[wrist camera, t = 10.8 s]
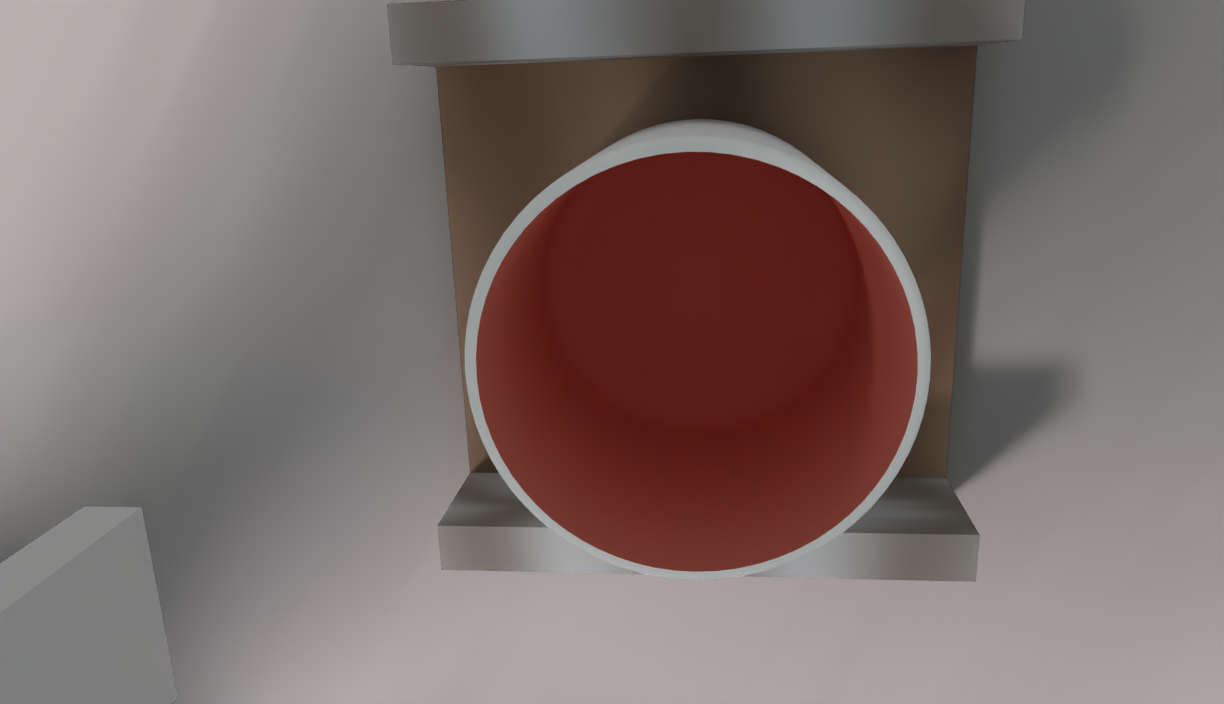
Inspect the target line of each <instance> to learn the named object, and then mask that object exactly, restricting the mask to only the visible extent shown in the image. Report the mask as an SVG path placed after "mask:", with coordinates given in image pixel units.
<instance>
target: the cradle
mask: <svg viewBox="0 0 1224 704" xmlns="http://www.w3.org/2000/svg"><path fill="white" fill-rule="evenodd" d="M387 8H388V18H389V28H390V39H391V49H392V59H393V64H397V65H415V66H434V67H436V70H437V82H438V94H439V106H440V118H441V130H442V142H443V154H444V166H445V177H446V189H447V201H448V213H449V225H450V237H451V249H452V261H453V272H454V284H455V296H456V308H457V320H458V332H459V344H460V356H461V368H462V379H463V391H464V403H465V415H466V427H467V439H468V451H469V463H470V474H469V476H468V477H467V479H466V481H465V482H464V484H463V485H462V487H461V489H460V490H459V492H458V493H457V495H456V497H455V498H454V500H453V502H452V503H451V505H450V506H449V508H448V510H447V511H446V513H445V515H444V516H443V518H442V519H441V521H440V523H439V524H438V535H439V546H440V556H441V567H442V570H485V571H529V572H574V573H618V574H643V573H639V572H635V571H632V570H629V569H625V568H622V567H619V566H616V565H613V564H611V563H609V562H606V561H604V560H601V559H599V558H597V557H594V556H593V555H591V554H589V553H587V552H585V551H583V550H581V549H579V548H577V547H576V546H574V545H573V544H571V543H570V542H568V541H567V540H566V539H564V538H563V537H561V536H560V535H558V534H557V533H555V532H554V531H552V530H551V529H549V528H548V527H547V526H546V525H545V524H544V523H542V522H541V521H540V520H539V519H538V518H537V517H535V516H534V515H533V514H532V513H531V512H530V511H529V510H528V509H527V508H526V507H525V506H524V505H523V503H522V502H521V501H520V500H519V499H518V498H517V496H516V495H515V494H514V493H513V492H512V491H511V489H510V488H509V486H508V485H507V484H506V482H505V481H504V480H503V478H502V477H501V475H500V474H499V472H498V470H497V469H496V467H495V465H494V464H493V462H492V460H491V459H490V457H489V454H488V452H487V450H486V448H485V446H484V444H483V442H482V440H481V437H480V434H479V432H478V429H477V427H476V424H475V420H474V417H473V414H472V410H471V407H470V402H469V396H468V391H467V384H466V375H465V338H466V328H467V322H468V316H469V311H470V307H471V303H472V299H473V295H474V292H475V289H476V287H477V284H478V281H479V278H480V276H481V273H482V271H483V269H484V267H485V265H486V263H487V261H488V259H489V257H490V255H491V253H492V251H493V249H494V248H495V246H496V245H497V243H498V241H499V240H500V238H501V237H502V235H503V234H504V232H505V231H506V230H507V228H508V227H509V226H510V224H511V223H512V222H513V221H514V219H515V218H516V217H517V216H518V215H519V213H520V212H521V211H522V210H523V209H524V208H525V207H526V206H527V205H528V204H529V203H530V202H531V201H532V200H533V199H534V198H535V197H536V196H537V195H539V194H540V193H541V192H542V191H543V190H544V189H546V188H547V187H548V186H549V185H551V184H552V183H553V182H555V181H556V180H557V179H559V178H560V177H562V176H563V175H565V174H566V173H568V172H569V171H571V170H572V169H574V168H575V167H577V166H579V165H580V164H582V163H583V162H585V161H586V160H588V159H590V158H591V157H593V156H594V155H596V154H598V153H599V152H601V151H602V150H604V149H605V148H607V147H608V146H610V145H612V144H614V143H615V142H617V141H619V140H621V139H622V138H624V137H626V136H628V135H631V134H633V133H635V132H638V131H640V130H643V129H646V128H649V127H652V126H655V125H659V124H663V123H668V122H673V121H680V120H691V119H713V120H722V121H730V122H735V123H739V124H743V125H747V126H750V127H753V128H757V129H760V130H762V131H765V132H767V133H769V134H771V135H774V136H776V137H778V138H780V139H781V140H783V141H785V142H787V143H789V144H790V145H792V146H793V147H795V148H796V149H798V150H799V151H801V152H802V153H803V154H805V155H806V156H807V157H808V158H810V159H811V160H812V161H814V162H815V163H816V164H817V165H819V166H820V167H821V168H822V169H824V170H825V171H826V172H827V173H829V174H830V175H831V176H832V177H834V178H835V179H836V180H838V181H839V182H840V183H841V184H843V185H844V186H845V187H846V188H847V189H849V190H850V191H851V192H852V193H853V194H854V195H856V196H857V197H858V198H859V199H860V200H861V201H862V202H863V203H864V204H865V205H866V206H867V207H868V208H869V209H870V210H871V211H872V212H873V213H874V214H875V215H876V216H877V217H878V219H879V220H880V221H881V222H882V224H883V225H884V226H885V227H886V229H887V230H888V231H889V233H890V234H891V235H892V237H893V238H894V240H895V241H896V243H897V245H898V246H899V248H900V250H901V251H902V253H903V255H904V256H905V258H906V260H907V262H908V265H909V267H910V269H911V271H912V273H913V275H914V277H915V280H916V283H917V286H918V288H919V291H920V294H921V297H922V300H923V304H924V308H925V312H926V316H927V322H928V329H929V335H930V349H931V368H930V382H929V390H928V397H927V402H926V406H925V410H924V415H923V418H922V421H921V424H920V427H919V430H918V433H917V436H916V438H915V441H914V443H913V445H912V448H911V450H910V452H909V454H908V456H907V458H906V460H905V461H904V463H903V465H902V467H901V469H900V470H899V472H898V474H897V475H896V477H895V478H894V479H893V481H892V482H891V484H890V485H889V487H888V488H887V489H886V491H885V492H884V493H883V494H882V496H881V497H880V498H879V499H878V500H877V501H876V503H875V504H874V505H873V506H872V507H871V508H870V509H869V510H868V511H867V512H866V513H865V514H864V515H863V516H862V517H861V518H860V519H859V520H858V521H856V522H855V523H854V524H853V525H852V526H851V527H849V528H848V529H847V530H845V531H844V532H843V533H841V534H840V535H839V536H837V537H836V538H835V539H833V540H832V541H830V542H828V543H827V544H825V545H823V546H822V547H820V548H818V549H817V550H815V551H813V552H812V553H810V554H807V555H805V556H803V557H801V558H799V559H797V560H794V561H792V562H790V563H788V564H785V565H782V566H779V567H776V568H773V569H770V570H767V571H764V572H759V573H755V574H750V575H746V576H751V577H796V578H840V579H885V580H929V581H973V582H976V572H977V560H978V548H979V537H980V535H979V533H978V531H977V530H976V528H975V526H974V525H973V523H972V521H971V520H970V518H969V516H968V515H967V513H966V511H965V509H964V508H963V506H962V504H961V503H960V501H959V499H958V498H957V496H956V494H955V492H954V491H953V489H952V487H951V486H950V484H949V482H948V481H947V479H946V468H947V454H948V441H949V427H950V413H951V399H952V385H953V372H954V358H955V344H956V330H957V317H958V303H959V289H960V275H961V262H962V248H963V234H964V220H965V207H966V193H967V179H968V165H969V151H970V138H971V124H972V110H973V96H974V83H975V69H976V55H977V45H984V44H992V43H999V42H1007V41H1014V40H1022V33H1023V22H1024V10H1025V0H463V1H442V2H420V3H399V4H387Z"/></svg>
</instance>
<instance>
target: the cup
mask: <svg viewBox="0 0 1224 704" xmlns="http://www.w3.org/2000/svg"><path fill="white" fill-rule="evenodd" d="M930 368H931V349H930V335H929V329H928V322H927V316H926V312H925V308H924V304H923V300H922V297H921V294H920V291H919V288H918V286H917V283H916V280H915V277H914V275H913V273H912V271H911V269H910V267H909V265H908V262H907V260H906V258H905V256H904V255H903V253H902V251H901V250H900V248H899V246H898V245H897V243H896V241H895V240H894V238H893V237H892V235H891V234H890V233H889V231H888V230H887V229H886V227H885V226H884V225H883V224H882V222H881V221H880V220H879V219H878V217H877V216H876V215H875V214H874V213H873V212H872V211H871V210H870V209H869V208H868V207H867V206H866V205H865V204H864V203H863V202H862V201H861V200H860V199H859V198H858V197H857V196H856V195H854V194H853V193H852V192H851V191H850V190H849V189H847V188H846V187H845V186H844V185H843V184H841V183H840V182H839V181H838V180H836V179H835V178H834V177H832V176H831V175H830V174H829V173H827V172H826V171H825V170H824V169H822V168H821V167H820V166H819V165H817V164H816V163H815V162H814V161H812V160H811V159H810V158H808V157H807V156H806V155H805V154H803V153H802V152H801V151H799V150H798V149H796V148H795V147H793V146H792V145H790V144H789V143H787V142H785V141H783V140H781V139H780V138H778V137H776V136H774V135H771V134H769V133H767V132H765V131H762V130H760V129H757V128H753V127H750V126H747V125H743V124H739V123H735V122H730V121H722V120H713V119H691V120H680V121H673V122H668V123H663V124H659V125H655V126H652V127H649V128H646V129H643V130H640V131H638V132H635V133H633V134H631V135H628V136H626V137H624V138H622V139H621V140H619V141H617V142H615V143H614V144H612V145H610V146H608V147H607V148H605V149H604V150H602V151H601V152H599V153H598V154H596V155H594V156H593V157H591V158H590V159H588V160H586V161H585V162H583V163H582V164H580V165H579V166H577V167H575V168H574V169H572V170H571V171H569V172H568V173H566V174H565V175H563V176H562V177H560V178H559V179H557V180H556V181H555V182H553V183H552V184H551V185H549V186H548V187H547V188H546V189H544V190H543V191H542V192H541V193H540V194H539V195H537V196H536V197H535V198H534V199H533V200H532V201H531V202H530V203H529V204H528V205H527V206H526V207H525V208H524V209H523V210H522V211H521V212H520V213H519V215H518V216H517V217H516V218H515V219H514V221H513V222H512V223H511V224H510V226H509V227H508V228H507V230H506V231H505V232H504V234H503V235H502V237H501V238H500V240H499V241H498V243H497V245H496V246H495V248H494V249H493V251H492V253H491V255H490V257H489V259H488V261H487V263H486V265H485V267H484V269H483V271H482V273H481V276H480V278H479V281H478V284H477V287H476V289H475V292H474V295H473V299H472V303H471V307H470V311H469V316H468V322H467V328H466V338H465V375H466V384H467V391H468V396H469V402H470V407H471V410H472V414H473V417H474V420H475V424H476V427H477V429H478V432H479V434H480V437H481V440H482V442H483V444H484V446H485V448H486V450H487V452H488V454H489V457H490V459H491V460H492V462H493V464H494V465H495V467H496V469H497V470H498V472H499V474H500V475H501V477H502V478H503V480H504V481H505V482H506V484H507V485H508V486H509V488H510V489H511V491H512V492H513V493H514V494H515V495H516V496H517V498H518V499H519V500H520V501H521V502H522V503H523V505H524V506H525V507H526V508H527V509H528V510H529V511H530V512H531V513H532V514H533V515H534V516H535V517H537V518H538V519H539V520H540V521H541V522H542V523H544V524H545V525H546V526H547V527H548V528H549V529H551V530H552V531H554V532H555V533H557V534H558V535H560V536H561V537H563V538H564V539H566V540H567V541H568V542H570V543H571V544H573V545H574V546H576V547H577V548H579V549H581V550H583V551H585V552H587V553H589V554H591V555H593V556H594V557H597V558H599V559H601V560H604V561H606V562H609V563H611V564H613V565H616V566H619V567H622V568H625V569H629V570H632V571H635V572H639V573H643V574H648V575H653V576H658V577H663V578H673V579H684V580H716V579H725V578H734V577H741V576H746V575H750V574H755V573H759V572H764V571H767V570H770V569H773V568H776V567H779V566H782V565H785V564H788V563H790V562H792V561H794V560H797V559H799V558H801V557H803V556H805V555H807V554H810V553H812V552H813V551H815V550H817V549H818V548H820V547H822V546H823V545H825V544H827V543H828V542H830V541H832V540H833V539H835V538H836V537H837V536H839V535H840V534H841V533H843V532H844V531H845V530H847V529H848V528H849V527H851V526H852V525H853V524H854V523H855V522H856V521H858V520H859V519H860V518H861V517H862V516H863V515H864V514H865V513H866V512H867V511H868V510H869V509H870V508H871V507H872V506H873V505H874V504H875V503H876V501H877V500H878V499H879V498H880V497H881V496H882V494H883V493H884V492H885V491H886V489H887V488H888V487H889V485H890V484H891V482H892V481H893V479H894V478H895V477H896V475H897V474H898V472H899V470H900V469H901V467H902V465H903V463H904V461H905V460H906V458H907V456H908V454H909V452H910V450H911V448H912V445H913V443H914V441H915V438H916V436H917V433H918V430H919V427H920V424H921V421H922V418H923V415H924V410H925V406H926V402H927V397H928V390H929V382H930Z"/></svg>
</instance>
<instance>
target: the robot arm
mask: <svg viewBox="0 0 1224 704" xmlns="http://www.w3.org/2000/svg"><path fill="white" fill-rule="evenodd" d="M177 697H178V695H177V690H176V684H175V679H174V674H173V669H172V663H171V658H170V653H169V648H168V643H167V637H166V632H165V627H164V622H163V617H162V611H161V606H160V601H159V596H158V591H157V585H156V580H155V575H154V570H153V564H152V559H151V554H150V549H149V544H148V538H147V533H146V528H145V523H144V518H143V512H142V507H85V506H84V507H83V508H81V509H80V510H78V511H77V512H75V513H74V514H72V515H71V516H69V517H68V518H66V519H65V520H63V521H62V522H60V523H59V524H57V525H56V526H54V527H53V528H52V529H50V530H49V531H47V532H46V533H44V534H43V535H41V536H40V537H38V538H37V539H35V540H34V541H32V542H31V543H29V544H28V545H26V546H25V547H23V548H22V549H20V550H19V551H18V552H16V553H15V554H13V555H12V556H10V557H9V558H7V559H6V560H4V561H3V562H1V563H0V704H172V703H173V702H174V701H175V700H176V699H177Z"/></svg>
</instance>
